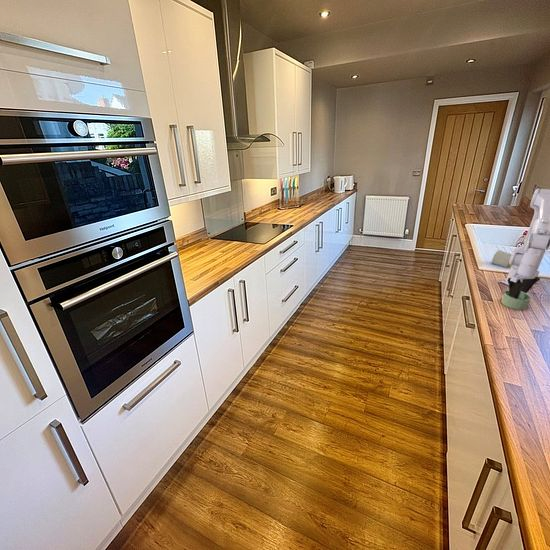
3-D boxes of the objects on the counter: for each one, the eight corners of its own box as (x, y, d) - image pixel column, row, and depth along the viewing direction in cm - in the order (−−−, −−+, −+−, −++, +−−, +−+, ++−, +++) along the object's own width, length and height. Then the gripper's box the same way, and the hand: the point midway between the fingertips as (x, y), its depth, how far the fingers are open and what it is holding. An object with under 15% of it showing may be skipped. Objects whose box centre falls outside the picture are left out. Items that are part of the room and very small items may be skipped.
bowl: (512, 297, 127) (515, 288, 125) (532, 308, 119) (536, 298, 117) (495, 300, 125) (499, 291, 123) (515, 311, 117) (519, 301, 115)
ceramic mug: (507, 269, 152) (512, 256, 149) (490, 264, 158) (494, 251, 155) (514, 264, 158) (519, 251, 155) (497, 260, 164) (502, 247, 161)
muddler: (509, 302, 122) (517, 282, 118) (513, 301, 123) (520, 281, 119) (515, 304, 120) (523, 285, 116) (518, 303, 121) (526, 284, 117)
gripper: (529, 257, 120) (518, 286, 126) (507, 263, 115) (496, 293, 121) (550, 263, 114) (537, 293, 120) (527, 270, 109) (514, 301, 115)
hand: (517, 293), depth 120 cm, fingers open, 7 cm apart
